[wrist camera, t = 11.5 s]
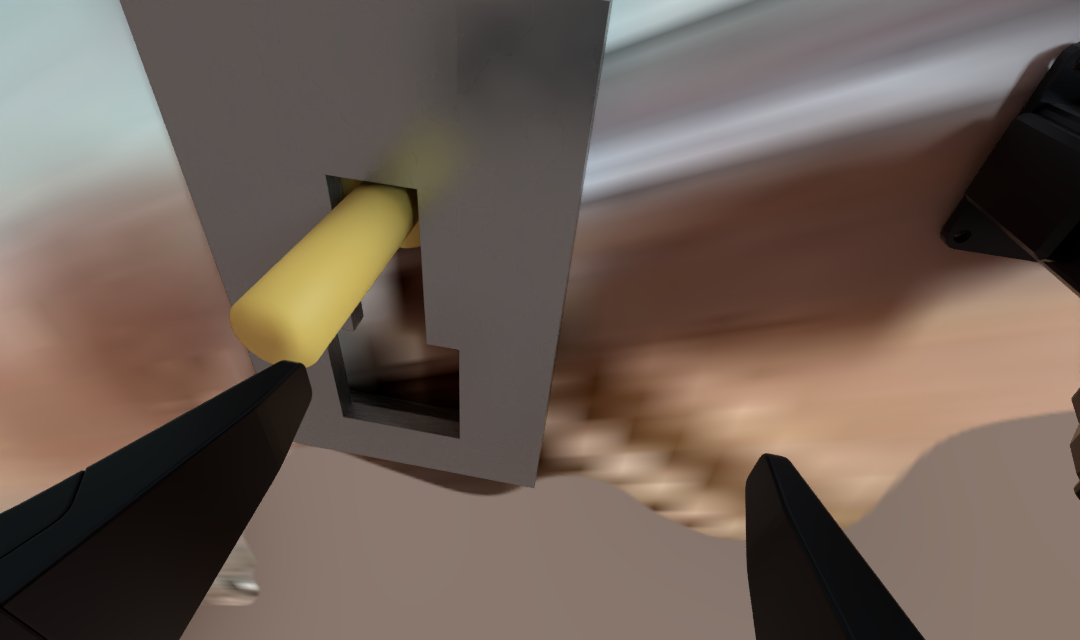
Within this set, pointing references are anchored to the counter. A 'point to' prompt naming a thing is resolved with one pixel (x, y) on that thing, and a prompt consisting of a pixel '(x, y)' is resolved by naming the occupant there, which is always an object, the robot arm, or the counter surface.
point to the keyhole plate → (398, 183)
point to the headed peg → (326, 273)
